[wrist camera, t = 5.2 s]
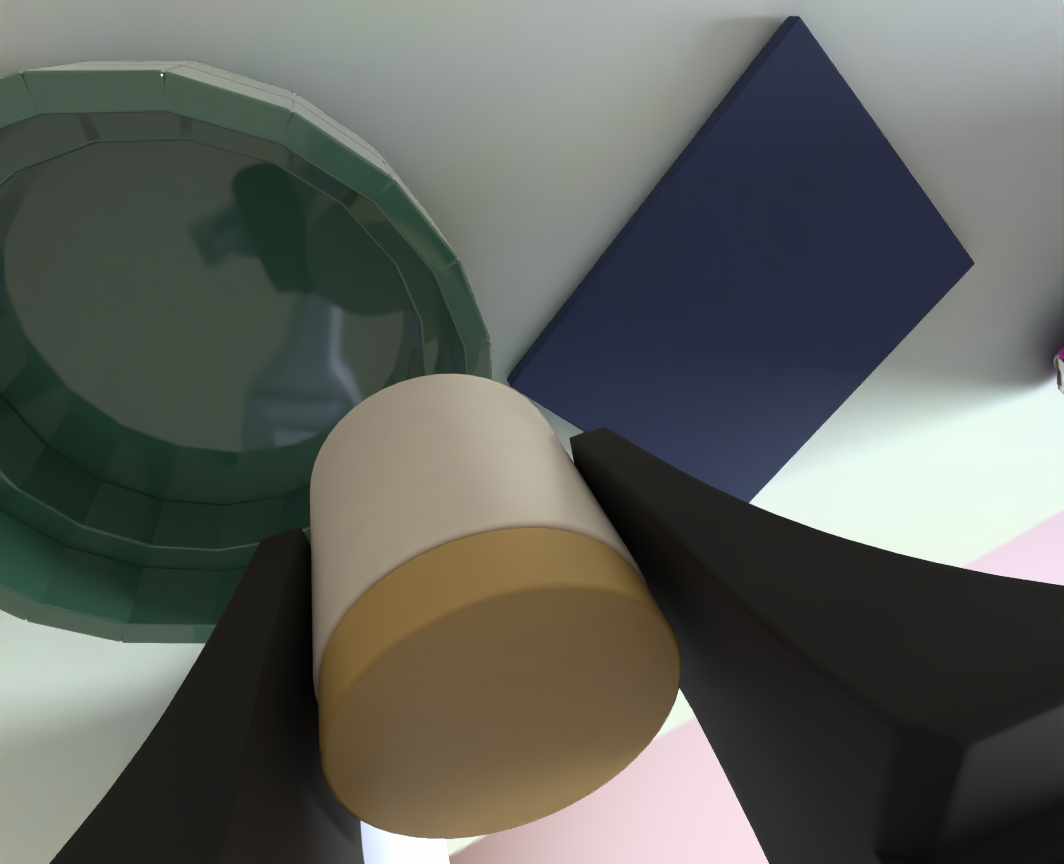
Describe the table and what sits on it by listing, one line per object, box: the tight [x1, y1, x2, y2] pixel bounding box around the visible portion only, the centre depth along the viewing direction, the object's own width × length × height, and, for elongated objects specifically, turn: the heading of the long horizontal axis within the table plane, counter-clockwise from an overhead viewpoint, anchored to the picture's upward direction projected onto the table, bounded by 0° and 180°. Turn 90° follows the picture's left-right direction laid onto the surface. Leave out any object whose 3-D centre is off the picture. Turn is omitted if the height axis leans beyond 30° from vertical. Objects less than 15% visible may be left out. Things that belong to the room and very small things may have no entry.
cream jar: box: [310, 374, 682, 839], centre depth 10 cm, size 4×4×5 cm
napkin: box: [507, 16, 974, 503], centre depth 21 cm, size 12×11×1 cm
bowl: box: [0, 61, 492, 643], centre depth 15 cm, size 12×12×4 cm
